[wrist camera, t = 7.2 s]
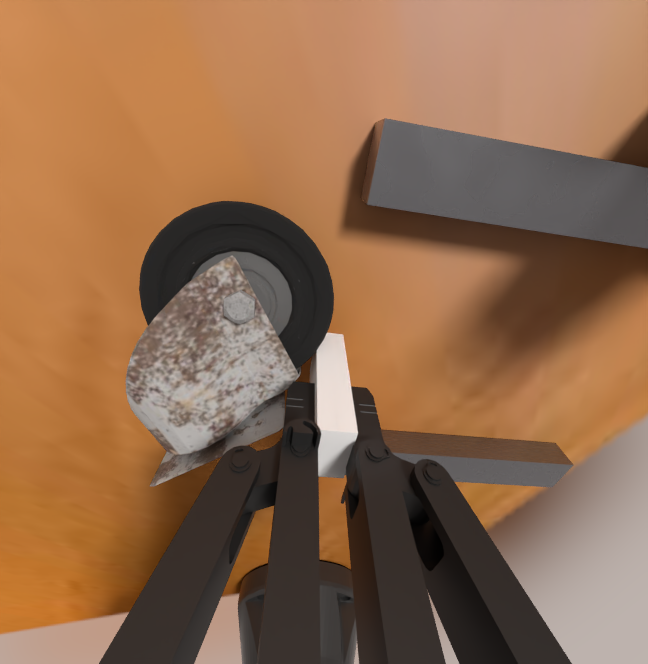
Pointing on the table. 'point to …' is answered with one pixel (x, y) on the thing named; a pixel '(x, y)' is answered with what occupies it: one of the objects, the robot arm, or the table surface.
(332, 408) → the robot arm
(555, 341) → the table surface
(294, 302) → the caster wheel
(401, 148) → the bay
